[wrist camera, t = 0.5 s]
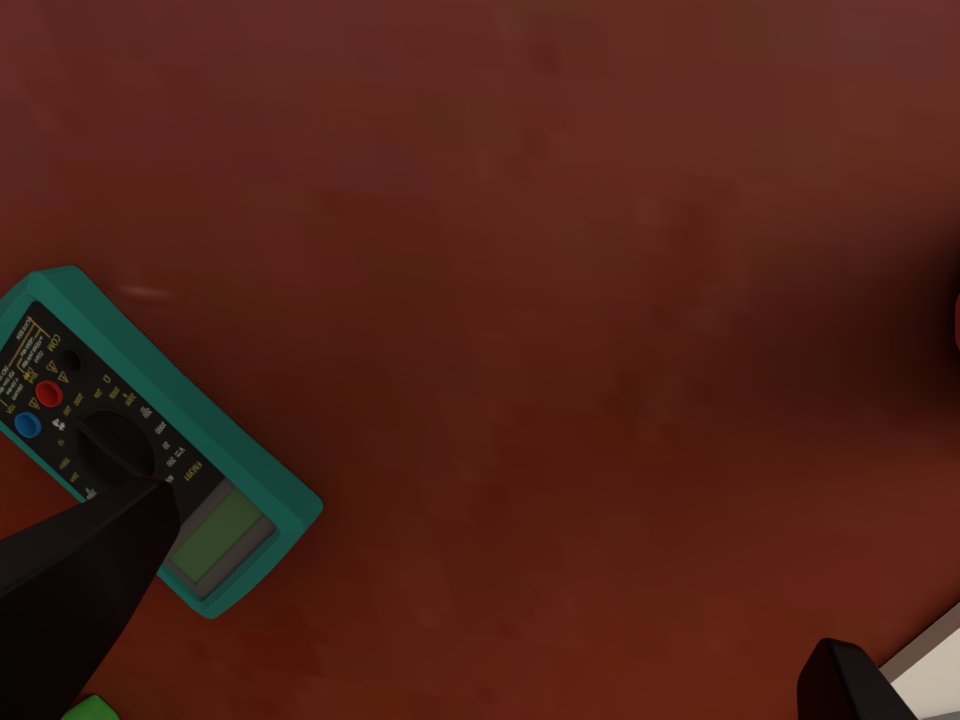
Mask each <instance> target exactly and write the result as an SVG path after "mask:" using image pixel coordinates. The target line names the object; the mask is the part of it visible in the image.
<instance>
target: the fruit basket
mask: <svg viewBox="0 0 960 720" xmlns="http://www.w3.org/2000/svg"><path fill="white" fill-rule="evenodd" d="M61 720H120V718H119V717H118V715H117V714H116V712H115V711H114V710H113V709H111V708H110V707H109V706H108V705H107V704H106V703H105V702H104V701H103V700H102V699H101V698H100V697H99V696H97V695H92V696H90V697H89V698H87V699H86V700H84V701H83V702H81V703H80V704H78V705H77V706H75V707H74V708H72V709H71V710H69V711H68V712H66V713H65V714H64V716H63V717H62V718H61Z"/></svg>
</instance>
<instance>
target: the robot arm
mask: <svg viewBox="0 0 960 720" xmlns="http://www.w3.org/2000/svg"><path fill="white" fill-rule="evenodd" d="M180 528H181V517H180V513H179V509H178V505H177V502H176V498H175V494H174V490H173V487H172V485H171V484H170V483H169V482H168V481H166V480H162V479H158V478H154V477H149V476H141V477H137V478H135V479H133V480H130V481H128V482H126V483H124V484H122V485H120V486H117V487H115V488H113V489H111V490H109V491H106V492H104V493H102V494H100V495H98V496H96V497H93V498H91V499H89V500H87V501H85V502H83V503H80V504H78V505H76V506H74V507H72V508H70V509H67V510H65V511H63V512H61V513H59V514H56V515H54V516H52V517H50V518H48V519H46V520H43V521H41V522H39V523H37V524H35V525H33V526H30V527H28V528H26V529H24V530H22V531H19V532H17V533H15V534H13V535H11V536H9V537H6V538H4V539H2V540H0V720H61V718H62V717H63V716H64V714H65V713H66V711H67V710H68V709H69V707H70V706H71V704H72V703H73V702H74V700H75V699H76V697H77V696H78V694H79V693H80V692H81V690H82V689H83V687H84V686H85V685H86V683H87V682H88V680H89V679H90V677H91V676H92V675H93V673H94V672H95V670H96V669H97V668H98V666H99V665H100V663H101V662H102V660H103V659H104V658H105V656H106V655H107V653H108V652H109V651H110V649H111V648H112V646H113V645H114V643H115V642H116V640H117V639H118V637H119V636H120V634H121V633H122V631H123V630H124V628H125V627H126V625H127V623H128V622H129V620H130V619H131V617H132V615H133V614H134V612H135V610H136V608H137V607H138V605H139V603H140V601H141V600H142V598H143V596H144V594H145V593H146V591H147V589H148V587H149V586H150V584H151V582H152V580H153V579H154V577H155V575H156V573H157V572H158V570H159V568H160V566H161V565H162V563H163V561H164V560H165V558H166V556H167V554H168V553H169V551H170V549H171V547H172V546H173V544H174V542H175V540H176V539H177V537H178V534H179V532H180ZM797 706H798V720H918V718H917V717H916V716H915V714H914V713H913V712H912V711H911V709H910V708H909V707H908V705H907V704H906V703H905V702H904V700H903V699H902V698H901V697H900V695H899V694H898V693H897V691H896V690H895V689H894V688H893V686H892V685H891V684H890V683H889V681H888V680H887V679H886V677H885V676H884V675H883V674H882V672H881V671H880V670H879V668H878V667H877V666H876V665H875V663H874V662H873V661H872V660H871V658H870V657H869V656H868V654H867V653H866V652H865V651H864V650H863V649H862V648H861V647H859V646H858V645H855V644H853V643H849V642H845V641H840V640H836V639H832V638H823V639H821V640H820V641H819V642H818V644H817V645H816V647H815V649H814V650H813V652H812V654H811V656H810V657H809V659H808V661H807V663H806V664H805V666H804V668H803V669H802V671H801V673H800V675H799V679H798V683H797Z"/></svg>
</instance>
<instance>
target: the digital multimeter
mask: <svg viewBox="0 0 960 720" xmlns="http://www.w3.org/2000/svg"><path fill="white" fill-rule="evenodd" d="M107 364H108V365H107ZM123 379H124V380H125V381H126V382H125V381H124V380H123ZM139 394H140V395H141V396H142V397H143V398H144V399H145V400H144V399H143V398H142V397H141V396H140V395H139ZM104 406H105V407H104ZM94 407H95V408H94ZM158 412H159V413H160V414H161V415H162V416H163V417H162V416H161V415H160V414H159V413H158ZM82 413H83V414H82ZM0 430H1V431H2V432H3V433H4V434H5V435H6V436H7V437H9V438H10V439H11V440H12V441H13V442H14V443H15V444H16V445H17V446H19V447H20V448H21V449H22V450H23V451H24V452H25V453H26V454H28V455H29V456H30V457H31V458H32V459H33V460H34V461H35V462H36V463H38V464H39V465H40V466H41V467H42V468H43V469H44V470H45V471H46V472H48V473H49V474H50V475H51V476H52V477H53V478H54V479H55V480H56V481H58V482H59V483H60V484H61V485H62V486H63V487H64V488H65V489H66V490H68V491H69V492H70V493H71V494H72V495H73V496H74V497H75V498H76V499H77V500H78V501H80V502H81V503H83V502H85V501H87V500H89V499H91V498H93V497H96V496H98V495H100V494H102V493H104V492H106V491H109V490H111V489H113V488H115V487H117V486H120V485H122V484H124V483H126V482H128V481H130V480H133V479H135V478H137V477H141V476H149V477H154V478H158V479H162V480H166V481H168V482H169V483H170V484H171V485H172V487H173V490H174V494H175V498H176V502H177V505H178V509H179V513H180V517H181V528H180V532H179V534H178V537H177V539H176V540H175V542H174V544H173V546H172V547H171V549H170V551H169V553H168V554H167V556H166V558H165V560H164V561H163V563H162V565H161V566H160V568H159V570H158V572H157V573H156V574H157V575H158V576H159V577H160V578H161V579H162V580H163V581H164V582H165V583H166V584H167V585H168V586H169V587H170V588H171V589H172V590H173V591H174V592H175V593H176V594H177V595H178V596H179V597H180V598H182V599H183V600H184V601H185V602H186V603H187V604H188V605H189V606H190V607H191V608H192V609H193V610H195V611H196V612H197V613H199V614H201V615H202V616H204V617H205V618H208V619H214V618H216V617H218V616H219V615H220V614H222V613H223V612H224V611H226V610H227V609H228V608H230V607H231V606H232V605H233V604H235V603H236V602H237V601H238V600H240V599H241V598H242V597H243V596H244V595H246V594H247V593H248V592H249V591H250V590H252V589H253V588H254V587H255V586H256V585H257V584H258V583H259V582H260V581H261V580H262V579H263V578H264V577H265V576H266V575H267V574H268V573H269V572H270V571H271V570H272V569H273V568H274V567H275V566H276V564H277V563H278V562H279V561H280V560H281V559H282V558H283V557H284V556H285V555H286V553H287V552H288V551H289V550H290V549H291V548H292V546H293V545H294V544H295V543H296V542H297V541H298V540H299V538H300V537H301V536H302V535H303V534H304V533H305V531H306V530H307V529H308V528H309V527H310V526H311V524H312V523H313V522H314V521H315V520H316V518H317V517H318V516H319V515H320V514H321V512H322V510H323V502H322V501H321V499H320V498H319V497H318V496H317V495H316V494H315V493H314V492H313V491H312V490H310V489H309V488H308V487H307V486H306V485H305V484H304V483H303V482H302V481H300V480H299V479H298V478H297V477H296V476H295V475H294V474H293V473H292V472H290V471H289V470H288V469H287V468H286V467H285V466H284V465H282V464H281V463H280V462H279V461H278V460H277V459H276V458H274V457H273V456H272V455H271V454H270V453H269V452H268V451H266V450H265V449H264V448H263V447H262V446H261V445H259V444H258V443H257V442H256V441H255V440H254V439H253V438H251V437H250V436H249V435H248V434H247V433H246V432H245V431H244V430H243V429H242V428H240V427H239V426H238V425H237V424H236V423H235V422H234V421H233V420H232V419H231V418H230V417H229V416H228V415H227V414H226V413H225V412H224V411H222V410H221V409H220V408H219V407H218V406H217V405H216V404H215V403H214V402H213V401H212V400H211V399H210V398H208V397H207V396H206V395H205V394H204V393H203V392H202V391H201V390H200V389H199V388H198V387H197V386H196V385H194V384H193V383H192V382H191V381H190V380H189V379H188V378H187V377H186V376H185V375H184V374H183V373H182V372H181V371H180V370H179V369H178V368H177V367H176V366H175V365H174V364H173V363H172V362H171V361H170V360H169V359H168V358H167V357H166V356H165V355H164V354H163V353H162V352H161V351H160V350H159V349H158V348H157V347H156V346H155V345H154V344H153V343H152V342H151V341H150V340H149V339H148V338H147V337H146V336H145V335H144V334H143V333H142V332H141V331H140V330H139V329H138V328H137V327H136V326H134V325H133V324H132V323H131V322H130V321H129V320H128V319H127V318H126V317H125V316H124V315H123V313H122V312H121V311H120V310H119V309H118V308H117V307H116V306H115V305H114V304H113V303H112V302H111V301H110V300H109V299H108V298H107V297H106V296H105V295H104V294H103V292H102V291H101V290H100V289H99V288H98V287H97V286H96V285H95V284H94V283H93V282H92V281H91V280H90V279H89V278H88V277H87V276H86V275H85V274H84V273H83V272H82V271H81V270H80V269H79V268H78V267H76V266H74V265H67V266H61V267H56V268H50V269H45V270H39V271H33V272H31V273H29V274H28V275H27V276H26V277H25V278H23V279H22V280H21V281H20V282H19V283H18V284H17V285H15V286H14V287H13V288H12V289H11V290H10V291H8V292H7V293H6V295H5V296H4V297H3V298H2V299H1V300H0ZM177 430H178V431H179V432H180V433H181V434H182V435H181V434H180V433H179V432H178V431H177ZM197 449H198V450H199V451H200V452H199V451H198V450H197ZM274 531H275V532H274ZM273 532H274V533H273ZM272 533H273V534H272ZM271 534H272V535H271ZM270 535H271V536H270Z"/></svg>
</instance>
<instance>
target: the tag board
mask: <svg viewBox="0 0 960 720" xmlns="http://www.w3.org/2000/svg"><path fill="white" fill-rule="evenodd" d="M879 670H880V671H881V672H882V674H883V675H884V676H885V677H886V679H887V680H888V681H889V683H890V684H891V685H892V686H893V688H894V689H895V690H896V691H897V693H898V694H899V695H900V697H901V698H902V699H903V700H904V702H905V703H906V704H907V705H908V707H909V708H910V709H911V711H912V712H913V713H914V714H915V716H916V717H917V718H918V720H960V602H959V603H958V604H957V605H956V606H954V607H953V608H952V609H951V610H949V611H948V612H947V613H946V614H945V615H943V616H942V617H941V618H940V619H939V620H937V621H936V622H935V623H934V624H933V625H931V626H930V627H929V628H928V629H927V630H925V631H924V632H923V633H922V634H920V635H919V636H918V637H917V638H916V639H914V640H913V641H912V642H911V643H910V644H908V645H907V646H906V647H905V648H904V649H902V650H901V651H900V652H899V653H898V654H896V655H895V656H894V657H893V658H891V659H890V660H889V661H888V662H887V663H885V664H884V665H883V666H882V667H881V668H879Z"/></svg>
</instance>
